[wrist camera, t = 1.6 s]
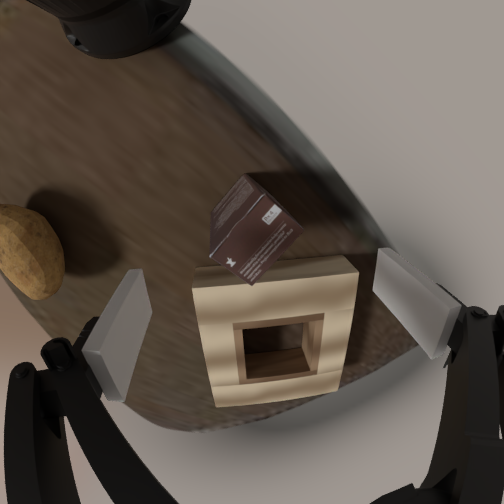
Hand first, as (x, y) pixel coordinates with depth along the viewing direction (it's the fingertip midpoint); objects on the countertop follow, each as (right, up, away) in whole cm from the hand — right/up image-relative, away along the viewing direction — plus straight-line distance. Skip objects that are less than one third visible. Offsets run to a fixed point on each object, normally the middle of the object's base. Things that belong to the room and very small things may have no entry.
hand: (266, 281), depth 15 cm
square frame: (+2, -9, +23) cm, 24 cm away
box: (-2, +7, +16) cm, 18 cm away
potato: (-29, +4, +15) cm, 32 cm away
